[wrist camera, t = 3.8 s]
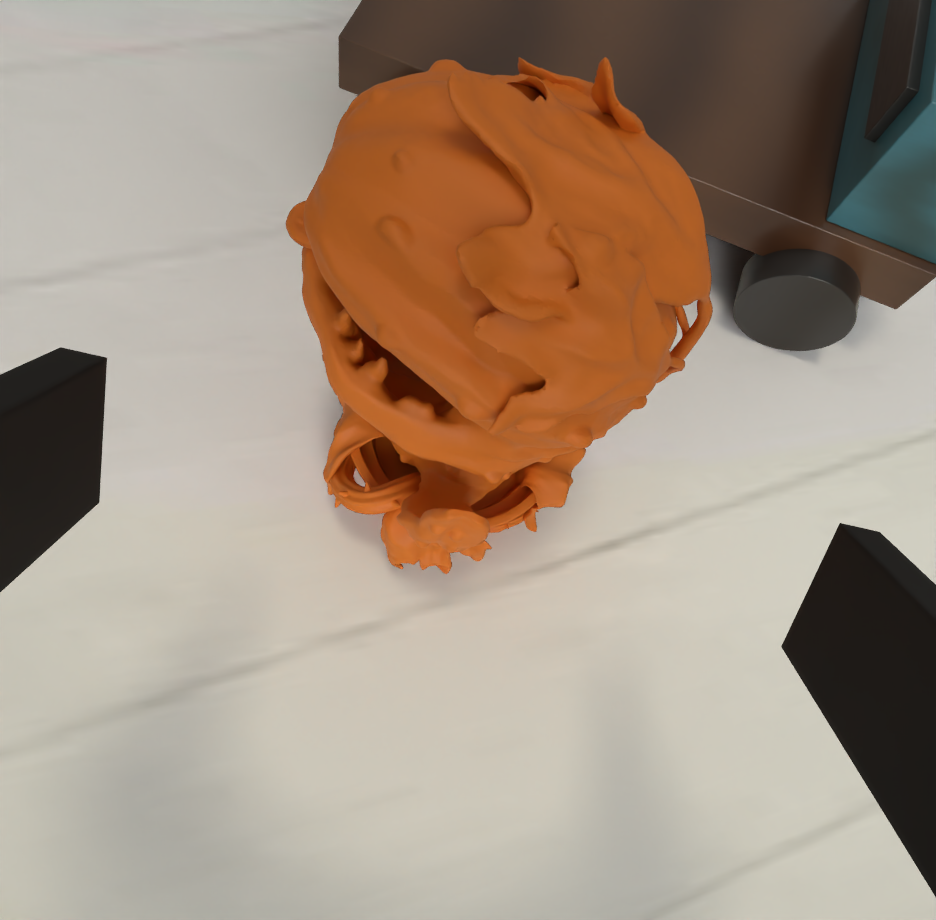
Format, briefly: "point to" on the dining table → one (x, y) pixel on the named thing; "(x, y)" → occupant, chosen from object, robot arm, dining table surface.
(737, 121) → the toy car
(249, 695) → the dining table surface
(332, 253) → the orange creature figurine
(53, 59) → the dining table surface
